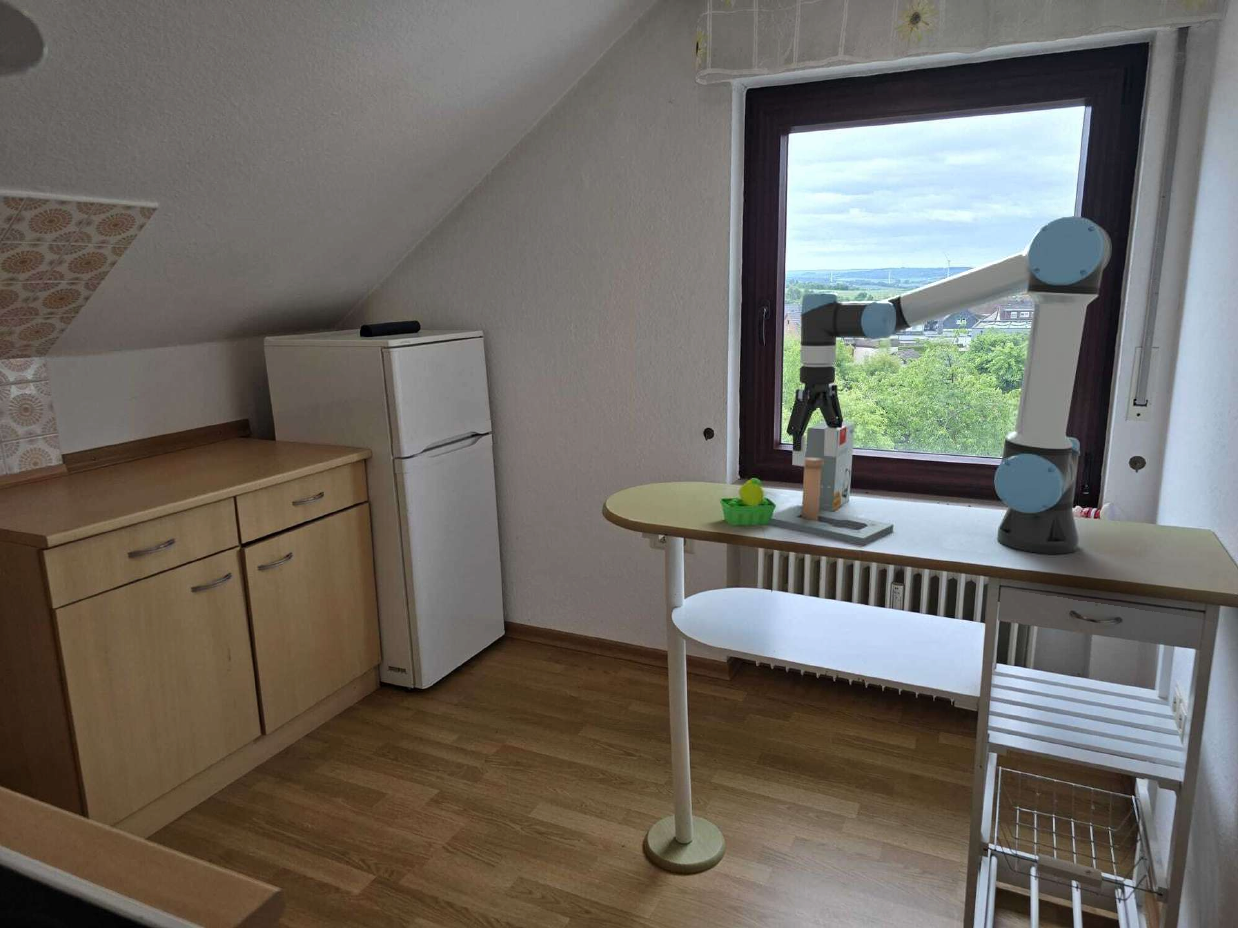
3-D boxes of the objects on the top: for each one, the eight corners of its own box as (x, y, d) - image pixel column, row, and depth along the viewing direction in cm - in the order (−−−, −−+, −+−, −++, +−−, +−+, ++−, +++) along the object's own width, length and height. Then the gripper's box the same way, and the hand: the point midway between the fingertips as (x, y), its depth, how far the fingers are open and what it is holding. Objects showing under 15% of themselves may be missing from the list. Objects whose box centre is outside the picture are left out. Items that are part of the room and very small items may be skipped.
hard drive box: (832, 513, 198) (837, 430, 194) (801, 509, 202) (805, 427, 198) (850, 499, 211) (855, 421, 207) (820, 495, 215) (824, 418, 211)
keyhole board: (893, 530, 184) (893, 524, 184) (862, 545, 174) (863, 538, 174) (797, 511, 200) (797, 505, 200) (764, 523, 190) (765, 516, 190)
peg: (824, 523, 190) (828, 459, 187) (813, 527, 187) (817, 462, 184) (805, 519, 194) (809, 456, 190) (794, 523, 190) (797, 459, 187)
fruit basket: (765, 517, 196) (767, 470, 194) (778, 528, 188) (780, 479, 185) (718, 519, 195) (719, 472, 192) (728, 530, 186) (730, 481, 184)
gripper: (830, 360, 194) (827, 450, 198) (771, 368, 176) (769, 467, 181) (860, 361, 189) (857, 454, 193) (802, 370, 171) (800, 471, 175)
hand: (814, 460), depth 187 cm, fingers open, 13 cm apart
